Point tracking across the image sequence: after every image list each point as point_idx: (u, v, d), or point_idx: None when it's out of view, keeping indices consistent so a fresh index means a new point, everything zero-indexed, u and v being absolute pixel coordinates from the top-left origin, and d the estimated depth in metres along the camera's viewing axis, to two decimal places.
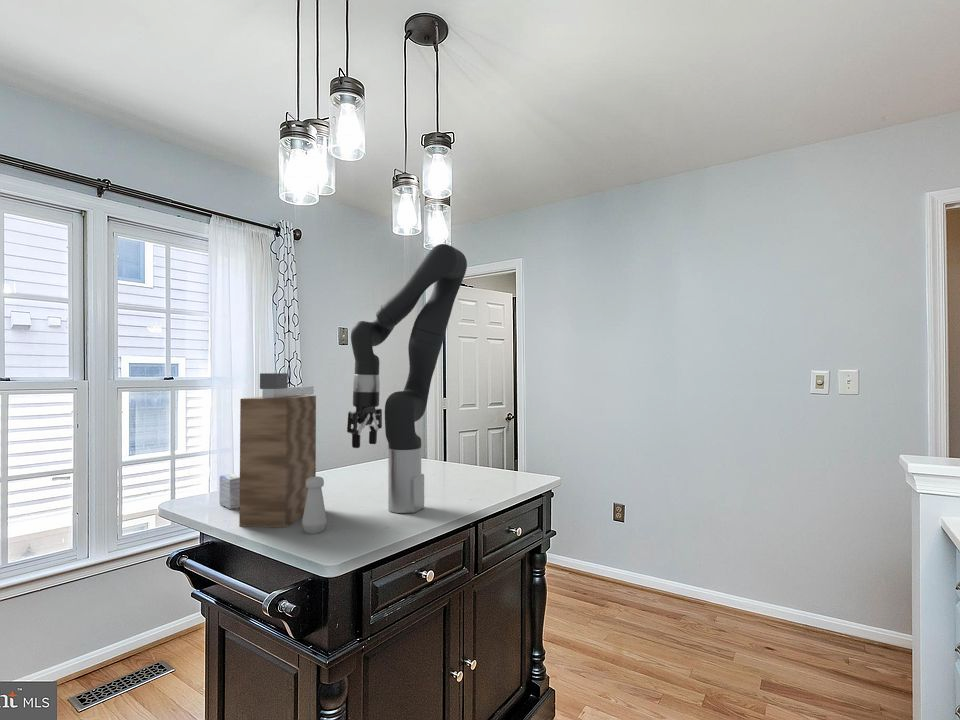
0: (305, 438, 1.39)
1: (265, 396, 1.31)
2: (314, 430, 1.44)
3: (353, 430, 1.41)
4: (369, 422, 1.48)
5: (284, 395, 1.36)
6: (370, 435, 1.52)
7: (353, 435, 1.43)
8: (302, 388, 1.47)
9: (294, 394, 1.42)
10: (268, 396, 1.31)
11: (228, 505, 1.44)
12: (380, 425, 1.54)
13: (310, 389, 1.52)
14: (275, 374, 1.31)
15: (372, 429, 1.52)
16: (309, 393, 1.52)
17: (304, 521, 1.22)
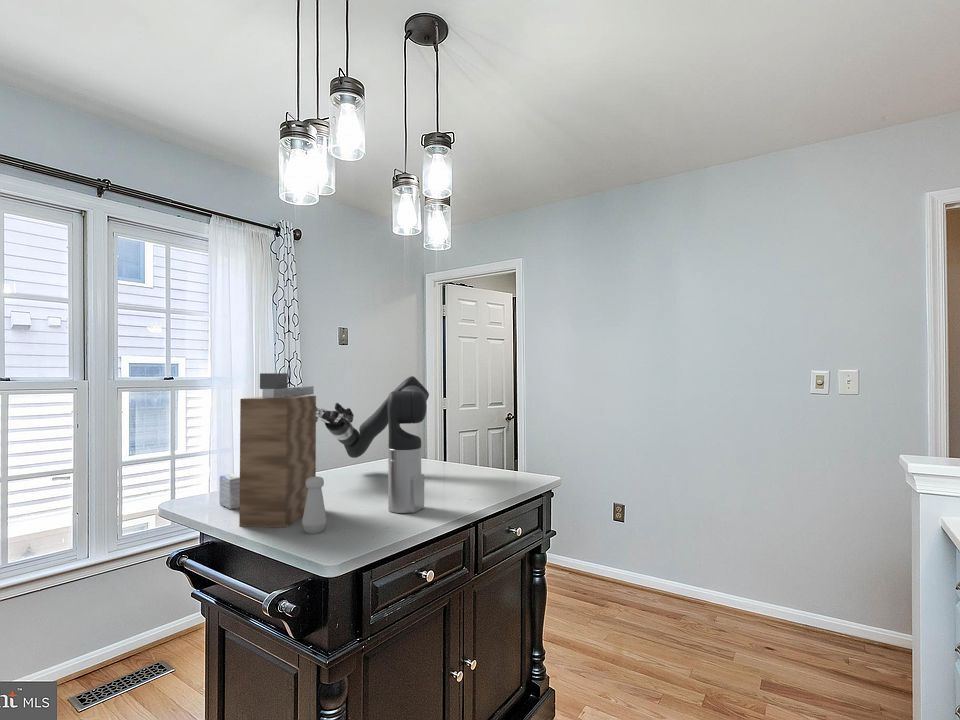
0: (305, 438, 1.39)
1: (265, 396, 1.31)
2: (314, 430, 1.44)
3: None
4: None
5: (284, 395, 1.36)
6: None
7: None
8: (302, 388, 1.47)
9: (294, 394, 1.42)
10: (268, 396, 1.31)
11: (228, 505, 1.44)
12: None
13: (310, 389, 1.52)
14: (275, 374, 1.31)
15: None
16: (309, 393, 1.52)
17: (304, 521, 1.22)
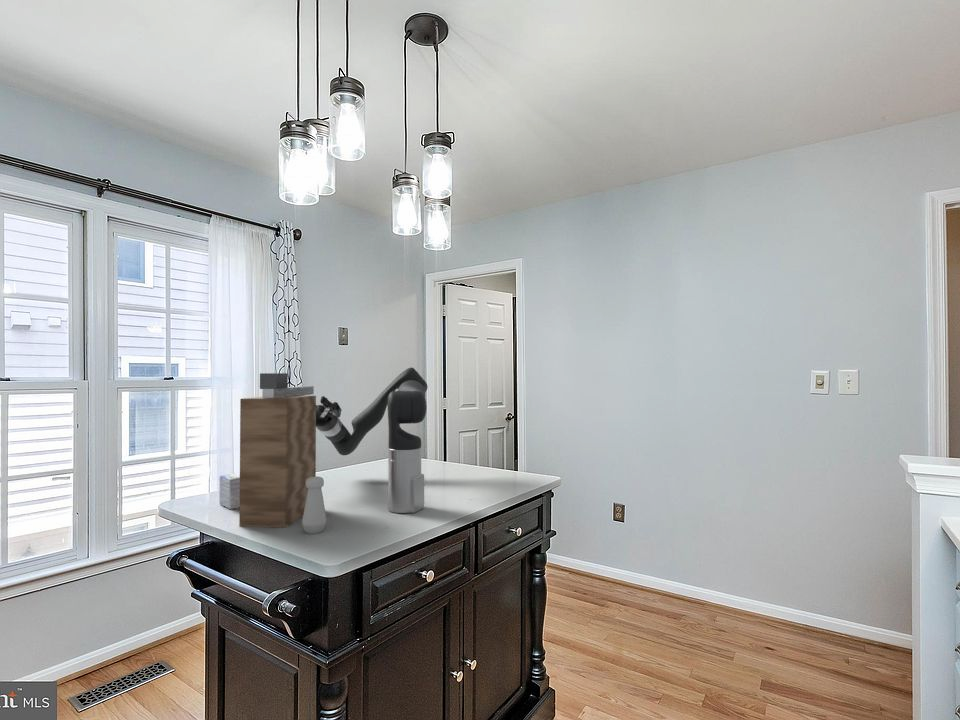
0: (305, 438, 1.39)
1: (265, 396, 1.31)
2: (314, 430, 1.44)
3: None
4: None
5: (284, 395, 1.36)
6: None
7: None
8: (302, 388, 1.47)
9: (294, 394, 1.42)
10: (268, 396, 1.31)
11: (228, 505, 1.44)
12: None
13: (310, 389, 1.52)
14: (275, 374, 1.31)
15: None
16: (309, 393, 1.52)
17: (304, 521, 1.22)
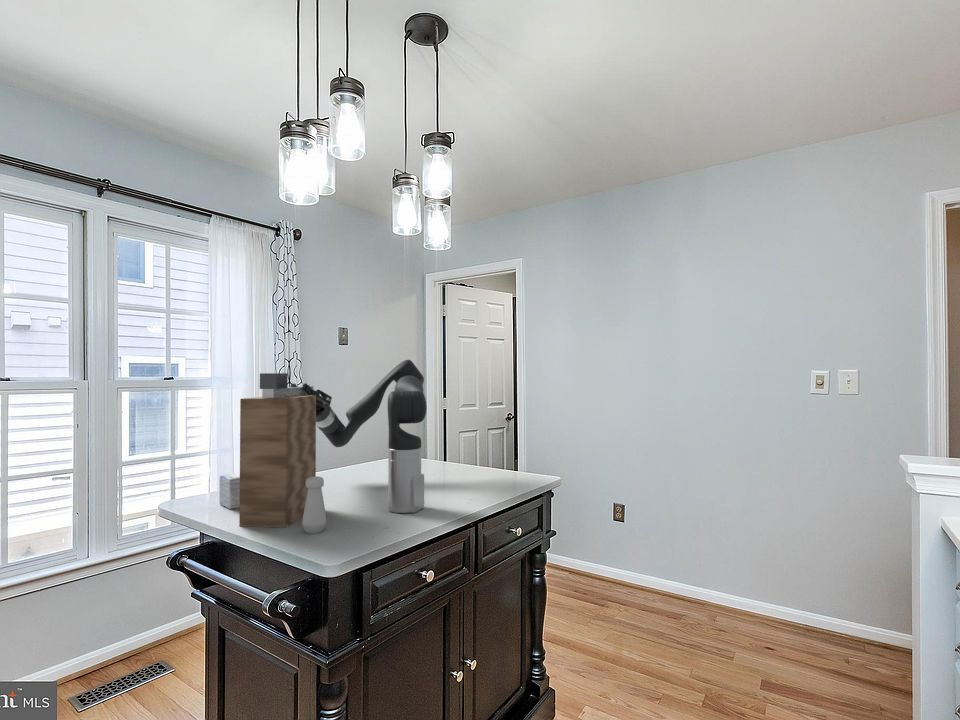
0: (305, 438, 1.39)
1: (265, 396, 1.31)
2: (314, 430, 1.44)
3: None
4: None
5: (284, 395, 1.36)
6: None
7: None
8: (302, 388, 1.47)
9: (294, 394, 1.42)
10: (268, 396, 1.31)
11: (228, 505, 1.44)
12: None
13: None
14: (275, 374, 1.31)
15: None
16: None
17: (304, 521, 1.22)
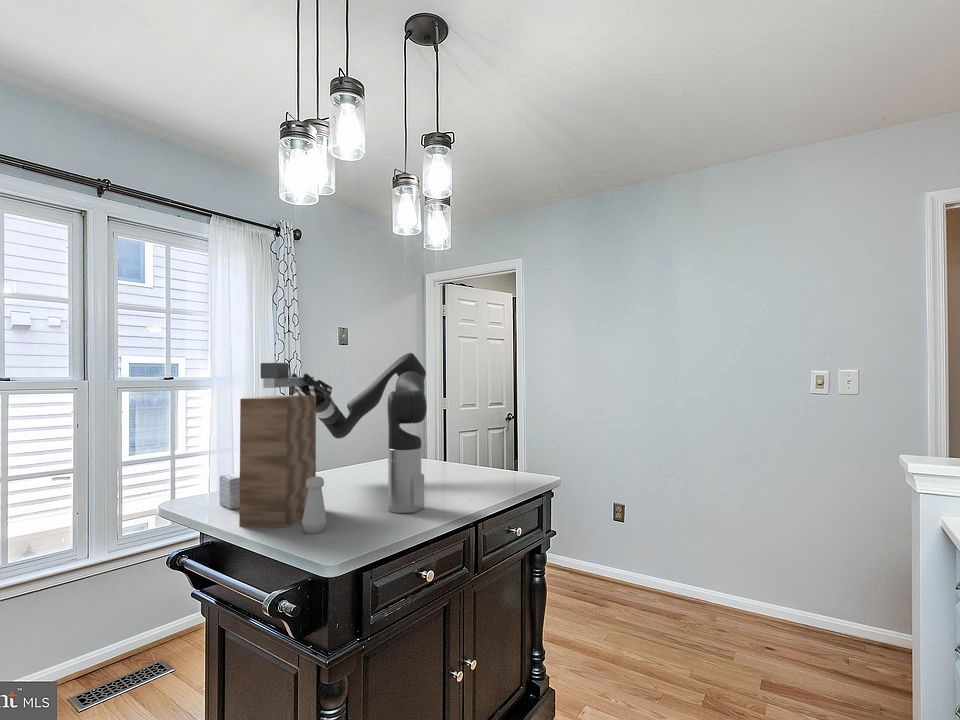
0: (305, 438, 1.39)
1: (266, 386, 1.31)
2: (314, 430, 1.44)
3: None
4: None
5: (285, 385, 1.37)
6: None
7: None
8: (302, 378, 1.48)
9: (295, 384, 1.43)
10: (269, 386, 1.31)
11: (228, 505, 1.44)
12: None
13: None
14: (276, 364, 1.31)
15: None
16: None
17: (304, 521, 1.22)
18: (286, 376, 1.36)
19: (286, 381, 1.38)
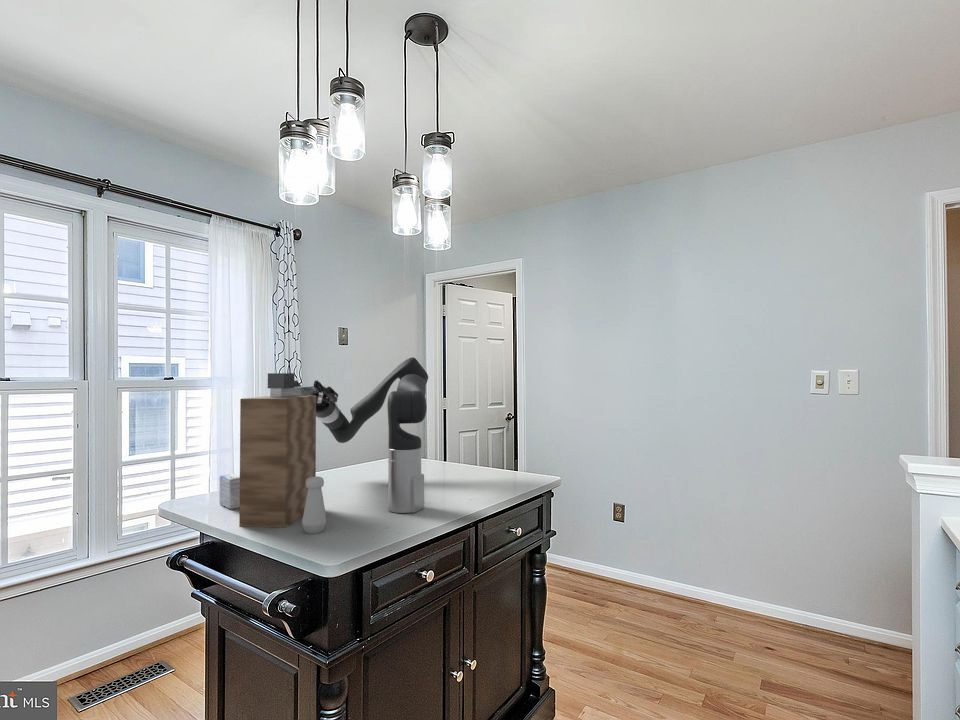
0: (305, 438, 1.39)
1: (273, 395, 1.35)
2: (314, 430, 1.44)
3: None
4: None
5: (291, 394, 1.40)
6: None
7: None
8: (308, 388, 1.51)
9: (300, 393, 1.46)
10: (276, 395, 1.35)
11: (228, 505, 1.44)
12: None
13: None
14: (282, 374, 1.35)
15: None
16: (315, 392, 1.56)
17: (304, 521, 1.22)
18: (292, 386, 1.40)
19: (292, 391, 1.41)
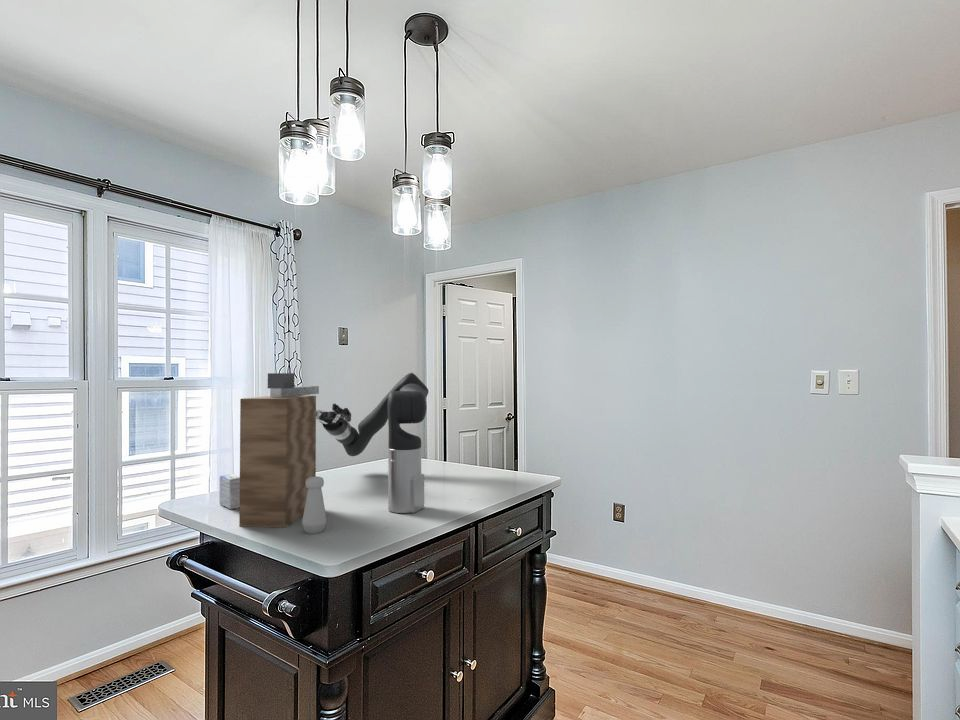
0: (305, 438, 1.39)
1: (273, 395, 1.35)
2: (314, 430, 1.44)
3: None
4: None
5: (291, 394, 1.40)
6: None
7: None
8: (308, 388, 1.51)
9: (300, 393, 1.46)
10: (276, 395, 1.35)
11: (228, 505, 1.44)
12: None
13: (315, 388, 1.56)
14: (282, 374, 1.35)
15: None
16: (315, 392, 1.56)
17: (304, 521, 1.22)
18: (292, 386, 1.40)
19: (292, 391, 1.41)
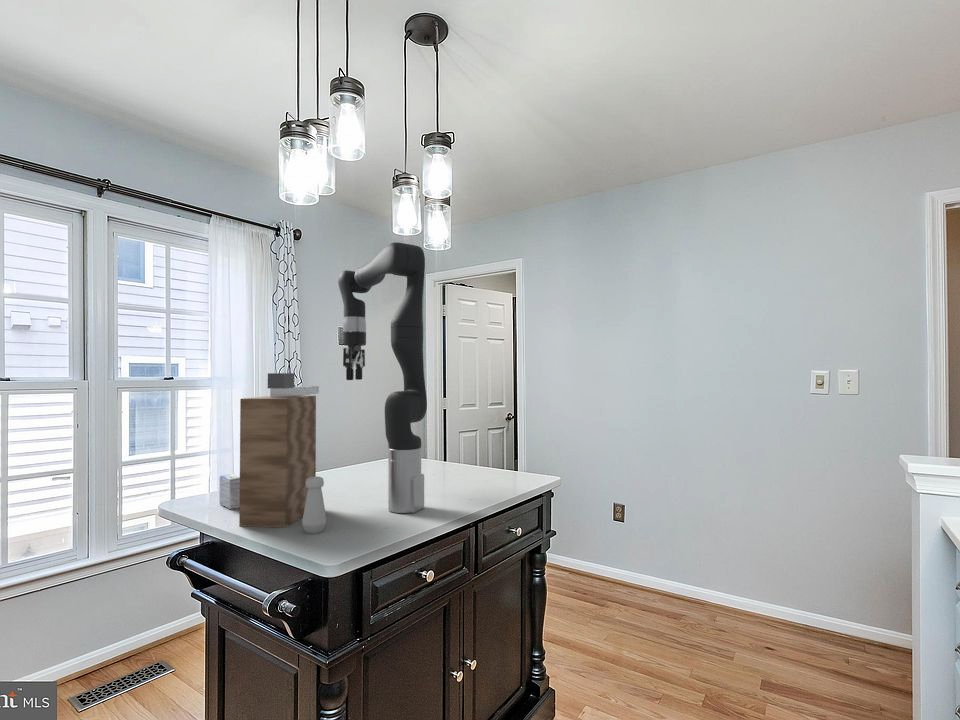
0: (305, 438, 1.39)
1: (273, 395, 1.35)
2: (314, 430, 1.44)
3: None
4: None
5: (291, 394, 1.40)
6: None
7: None
8: (308, 388, 1.51)
9: (300, 393, 1.46)
10: (276, 395, 1.35)
11: (228, 505, 1.44)
12: None
13: (315, 388, 1.56)
14: (282, 374, 1.35)
15: None
16: (315, 392, 1.56)
17: (304, 521, 1.22)
18: (292, 386, 1.40)
19: (292, 391, 1.41)
